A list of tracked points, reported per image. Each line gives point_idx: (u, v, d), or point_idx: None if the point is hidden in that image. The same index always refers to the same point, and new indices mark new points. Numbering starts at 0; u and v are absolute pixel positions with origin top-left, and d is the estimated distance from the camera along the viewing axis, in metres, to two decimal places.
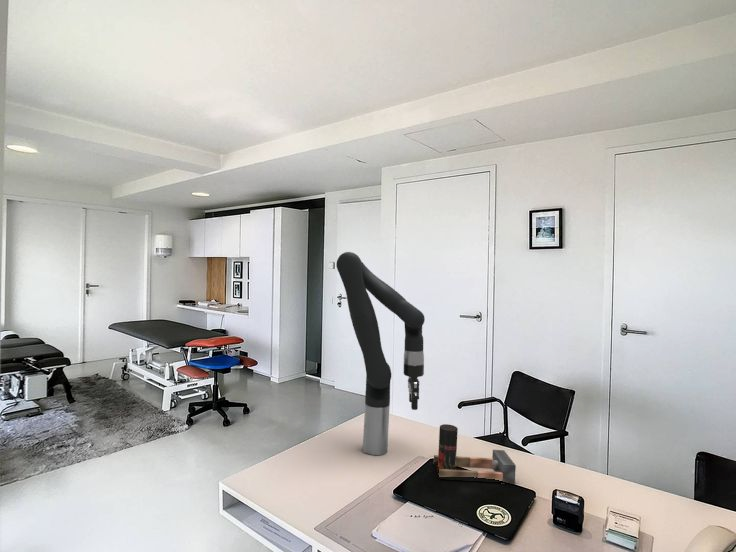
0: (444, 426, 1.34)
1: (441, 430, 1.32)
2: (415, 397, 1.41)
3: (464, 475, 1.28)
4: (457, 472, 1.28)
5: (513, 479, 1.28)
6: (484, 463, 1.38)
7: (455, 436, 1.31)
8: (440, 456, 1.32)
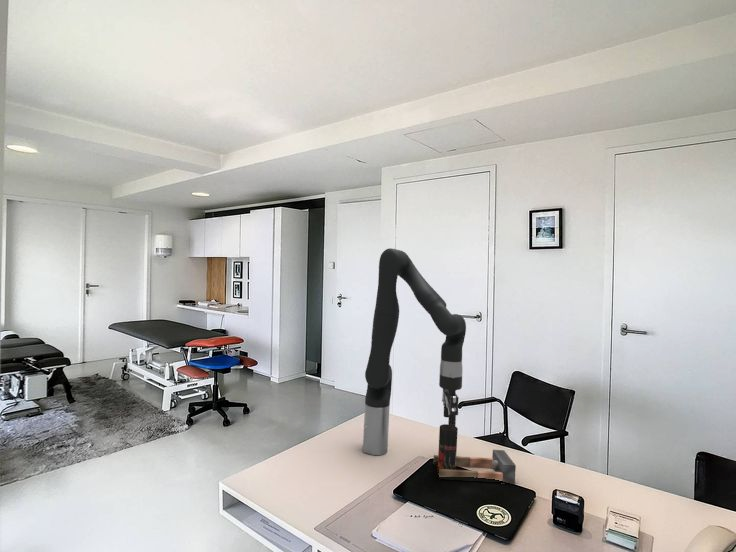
0: (444, 426, 1.34)
1: (441, 430, 1.32)
2: (454, 413, 1.27)
3: (464, 475, 1.28)
4: (457, 472, 1.28)
5: (513, 479, 1.28)
6: (484, 463, 1.38)
7: (455, 436, 1.31)
8: (440, 456, 1.32)
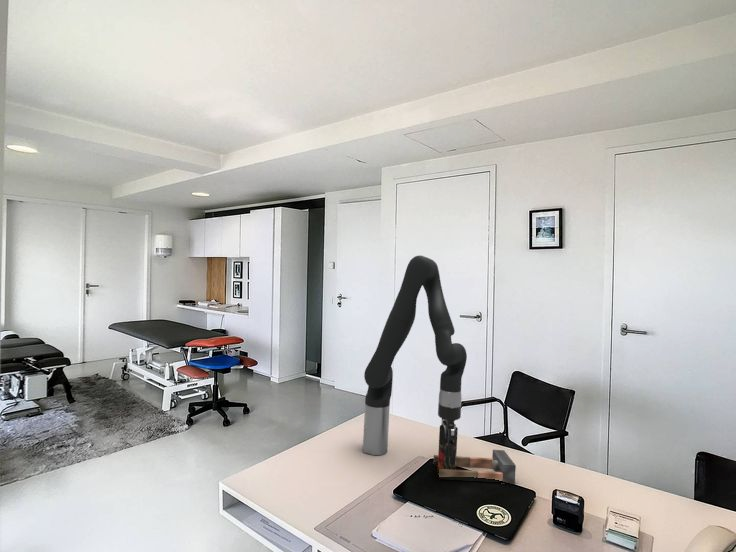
0: None
1: (441, 430, 1.32)
2: (451, 444, 1.28)
3: (464, 475, 1.28)
4: (457, 472, 1.28)
5: (513, 479, 1.28)
6: (484, 463, 1.38)
7: None
8: (440, 456, 1.32)
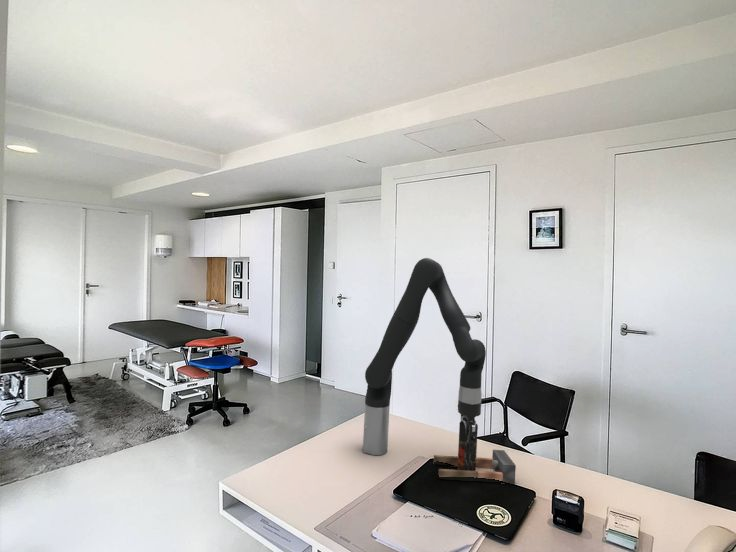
0: None
1: (461, 426, 1.32)
2: (472, 441, 1.27)
3: (464, 475, 1.28)
4: (457, 472, 1.28)
5: (513, 479, 1.28)
6: (484, 463, 1.38)
7: None
8: (460, 452, 1.32)
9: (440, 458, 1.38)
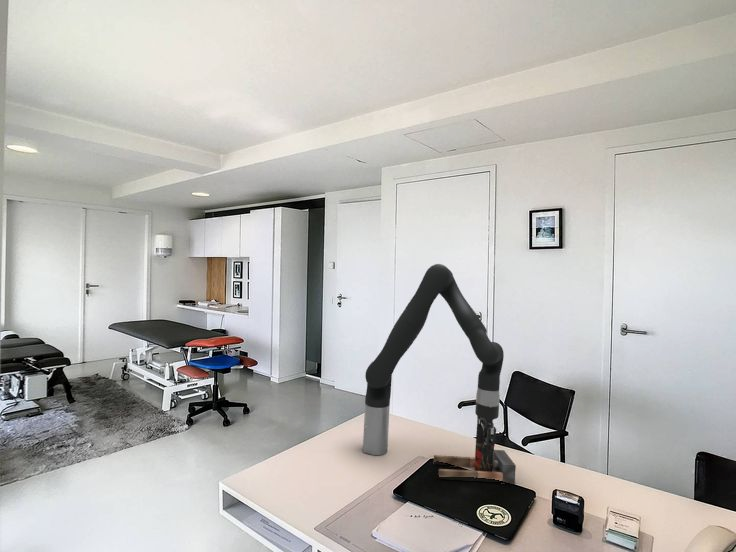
0: None
1: (479, 429, 1.32)
2: (490, 443, 1.27)
3: (464, 475, 1.28)
4: (457, 472, 1.28)
5: (513, 479, 1.28)
6: None
7: None
8: (477, 455, 1.32)
9: (440, 458, 1.38)
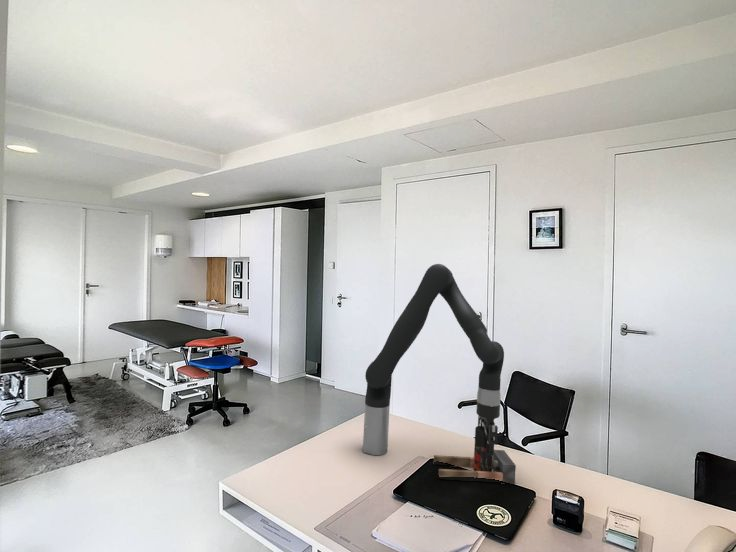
0: (480, 428, 1.34)
1: (477, 432, 1.32)
2: (493, 442, 1.26)
3: (464, 475, 1.28)
4: (457, 472, 1.28)
5: (513, 479, 1.28)
6: None
7: None
8: (476, 458, 1.32)
9: (440, 458, 1.38)
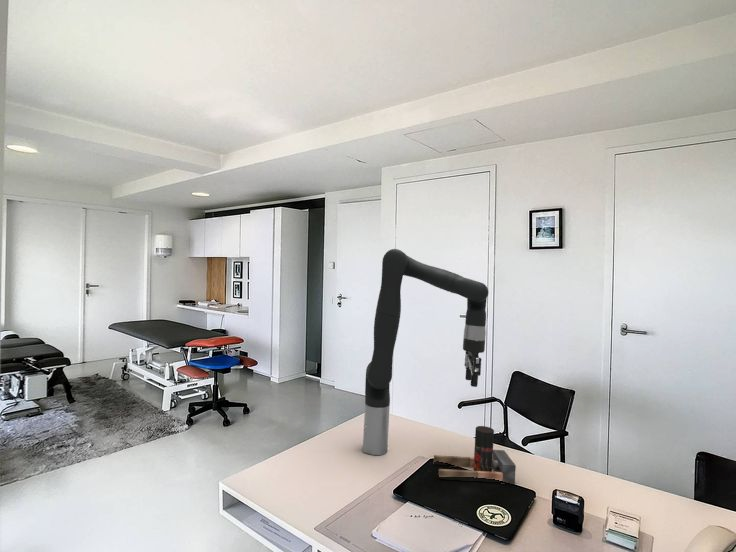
0: (480, 428, 1.34)
1: (478, 432, 1.32)
2: (476, 373, 1.34)
3: (464, 475, 1.28)
4: (457, 472, 1.28)
5: (513, 479, 1.28)
6: None
7: (492, 438, 1.31)
8: (476, 458, 1.32)
9: (440, 458, 1.38)
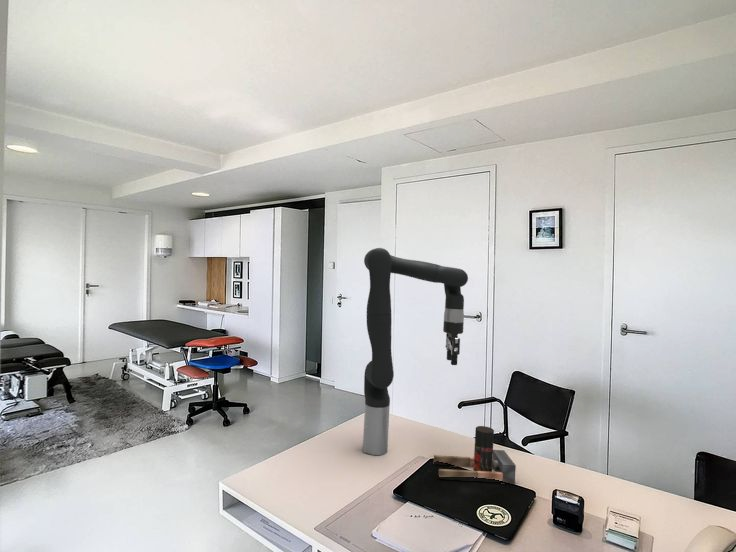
0: (480, 428, 1.34)
1: (478, 432, 1.32)
2: (456, 352, 1.46)
3: (464, 475, 1.28)
4: (457, 472, 1.28)
5: (513, 479, 1.28)
6: None
7: (492, 438, 1.31)
8: (476, 458, 1.32)
9: (440, 458, 1.38)
